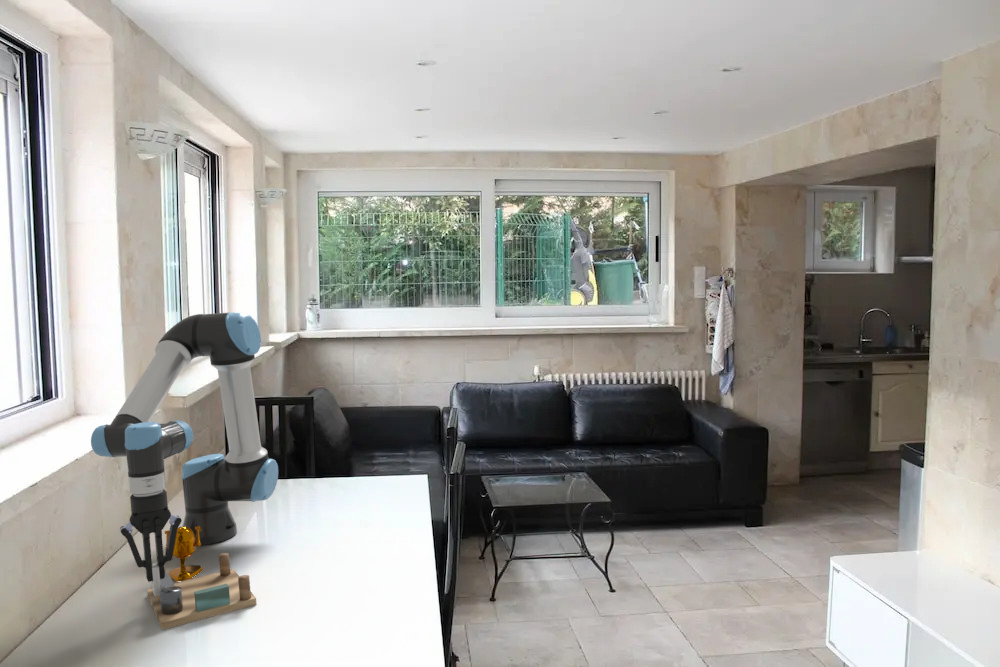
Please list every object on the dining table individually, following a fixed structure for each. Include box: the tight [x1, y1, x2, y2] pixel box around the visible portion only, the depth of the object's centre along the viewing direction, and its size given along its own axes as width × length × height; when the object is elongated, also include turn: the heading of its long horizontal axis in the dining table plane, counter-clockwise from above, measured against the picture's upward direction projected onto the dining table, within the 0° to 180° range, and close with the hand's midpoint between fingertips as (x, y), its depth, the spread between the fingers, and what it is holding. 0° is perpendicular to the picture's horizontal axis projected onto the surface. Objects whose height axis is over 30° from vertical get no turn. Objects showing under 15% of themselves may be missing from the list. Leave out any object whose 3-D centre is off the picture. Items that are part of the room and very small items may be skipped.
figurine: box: [164, 525, 205, 582], centre depth 200 cm, size 8×11×12 cm
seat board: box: [146, 552, 257, 630], centre depth 183 cm, size 22×20×6 cm
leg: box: [159, 573, 183, 614], centre depth 179 cm, size 15×4×4 cm, turn 30°
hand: (157, 593), depth 179 cm, fingers closed
